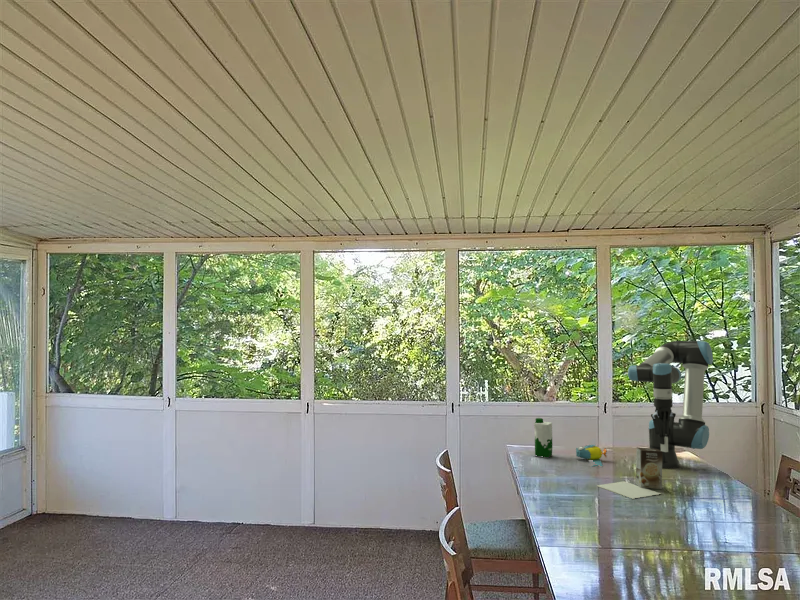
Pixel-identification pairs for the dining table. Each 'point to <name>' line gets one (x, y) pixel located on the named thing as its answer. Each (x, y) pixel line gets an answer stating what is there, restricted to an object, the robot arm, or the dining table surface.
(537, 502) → the dining table surface
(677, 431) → the robot arm
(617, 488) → the mat
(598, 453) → the yellow teal toy
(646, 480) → the coffee box
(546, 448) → the milk carton
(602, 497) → the dining table surface
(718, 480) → the dining table surface
